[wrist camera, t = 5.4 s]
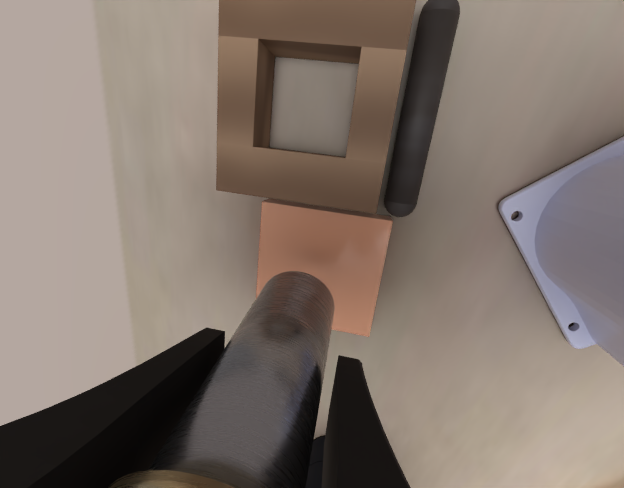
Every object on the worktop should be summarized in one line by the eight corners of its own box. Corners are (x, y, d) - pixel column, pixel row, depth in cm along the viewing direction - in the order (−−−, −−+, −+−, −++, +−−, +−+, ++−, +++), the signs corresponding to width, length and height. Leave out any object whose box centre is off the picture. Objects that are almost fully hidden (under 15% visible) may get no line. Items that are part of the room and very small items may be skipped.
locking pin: (363, 321, 12) (361, 659, 4) (287, 356, 13) (183, 662, 5) (308, 244, 11) (188, 494, 3) (232, 288, 12) (25, 542, 5)
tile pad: (268, 198, 17) (261, 201, 16) (391, 216, 16) (392, 221, 15) (261, 304, 19) (254, 313, 18) (368, 325, 19) (369, 336, 17)
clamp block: (243, -8, 14) (219, -39, 12) (458, 4, 13) (478, -28, 11) (236, 190, 17) (216, 196, 15) (410, 215, 16) (418, 226, 14)
